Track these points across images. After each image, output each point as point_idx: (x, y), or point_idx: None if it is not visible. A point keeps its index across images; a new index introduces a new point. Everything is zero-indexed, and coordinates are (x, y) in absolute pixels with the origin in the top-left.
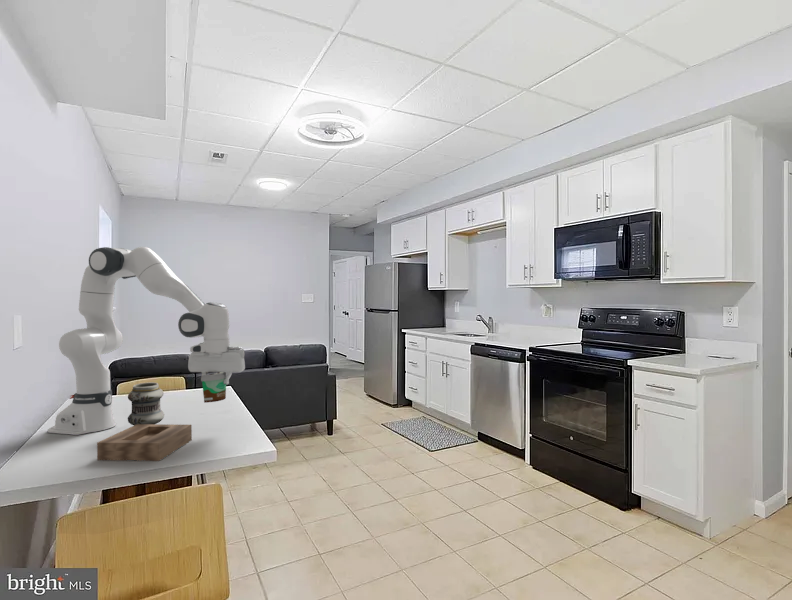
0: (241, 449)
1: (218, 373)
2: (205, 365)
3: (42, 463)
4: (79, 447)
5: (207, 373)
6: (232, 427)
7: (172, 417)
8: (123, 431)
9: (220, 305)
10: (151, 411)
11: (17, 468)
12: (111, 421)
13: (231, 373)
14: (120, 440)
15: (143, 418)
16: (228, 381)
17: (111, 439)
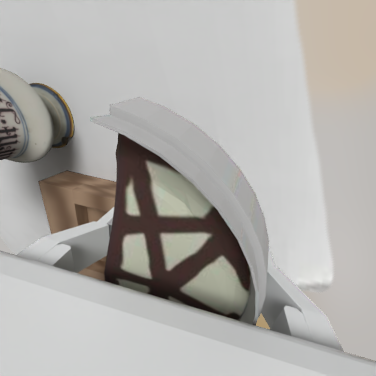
0: (278, 263)
1: (154, 222)
2: None
3: (27, 242)
4: (12, 192)
5: (69, 263)
6: (241, 102)
7: None
8: (52, 225)
9: None
10: (16, 149)
11: (18, 250)
12: None
13: (326, 334)
14: (85, 268)
15: (26, 161)
16: (268, 258)
17: None
